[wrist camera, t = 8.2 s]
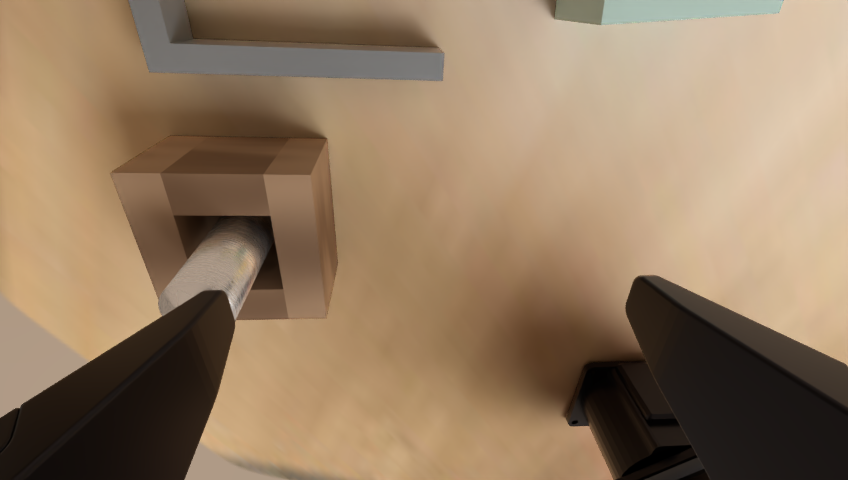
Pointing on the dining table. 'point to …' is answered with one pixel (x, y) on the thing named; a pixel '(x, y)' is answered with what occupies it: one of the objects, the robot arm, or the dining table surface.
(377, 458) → the dining table surface
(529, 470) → the dining table surface
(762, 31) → the dining table surface
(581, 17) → the block
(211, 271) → the cylinder
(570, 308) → the dining table surface
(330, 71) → the grey u-shaped bracket
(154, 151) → the block
